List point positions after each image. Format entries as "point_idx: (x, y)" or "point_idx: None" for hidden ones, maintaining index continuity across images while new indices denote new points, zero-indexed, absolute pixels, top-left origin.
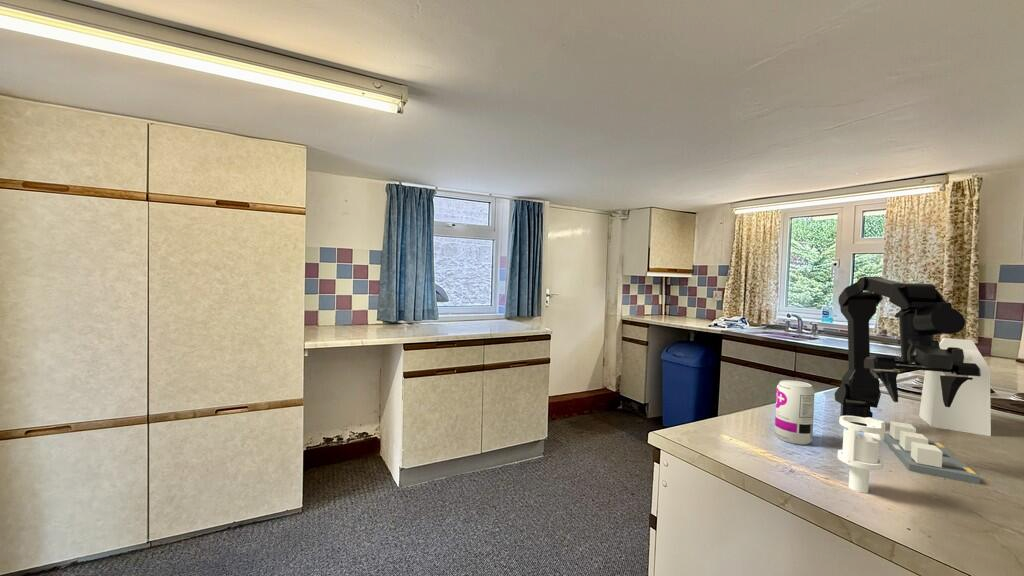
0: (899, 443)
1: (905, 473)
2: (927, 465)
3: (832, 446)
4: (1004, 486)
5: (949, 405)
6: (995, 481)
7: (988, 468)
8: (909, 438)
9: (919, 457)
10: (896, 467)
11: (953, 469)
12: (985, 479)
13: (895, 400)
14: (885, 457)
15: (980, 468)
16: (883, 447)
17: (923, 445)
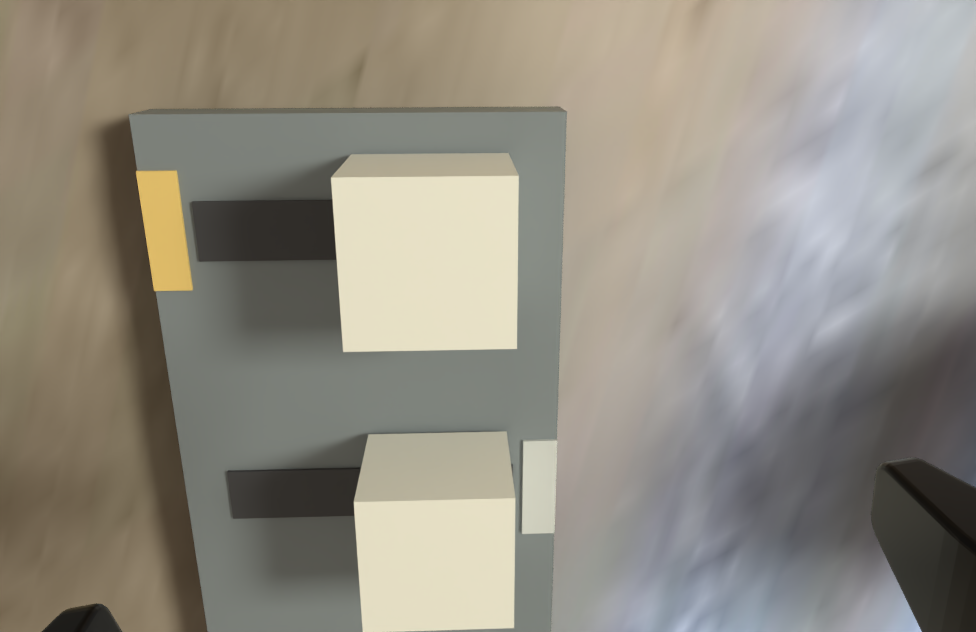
0: None
1: (604, 19)
2: None
3: (956, 344)
4: (2, 175)
5: (61, 622)
6: (37, 250)
7: (27, 502)
8: (486, 488)
9: (496, 160)
10: (628, 128)
11: (272, 185)
12: (90, 252)
13: (936, 474)
14: (638, 321)
15: (73, 471)
16: (584, 538)
17: (444, 289)
